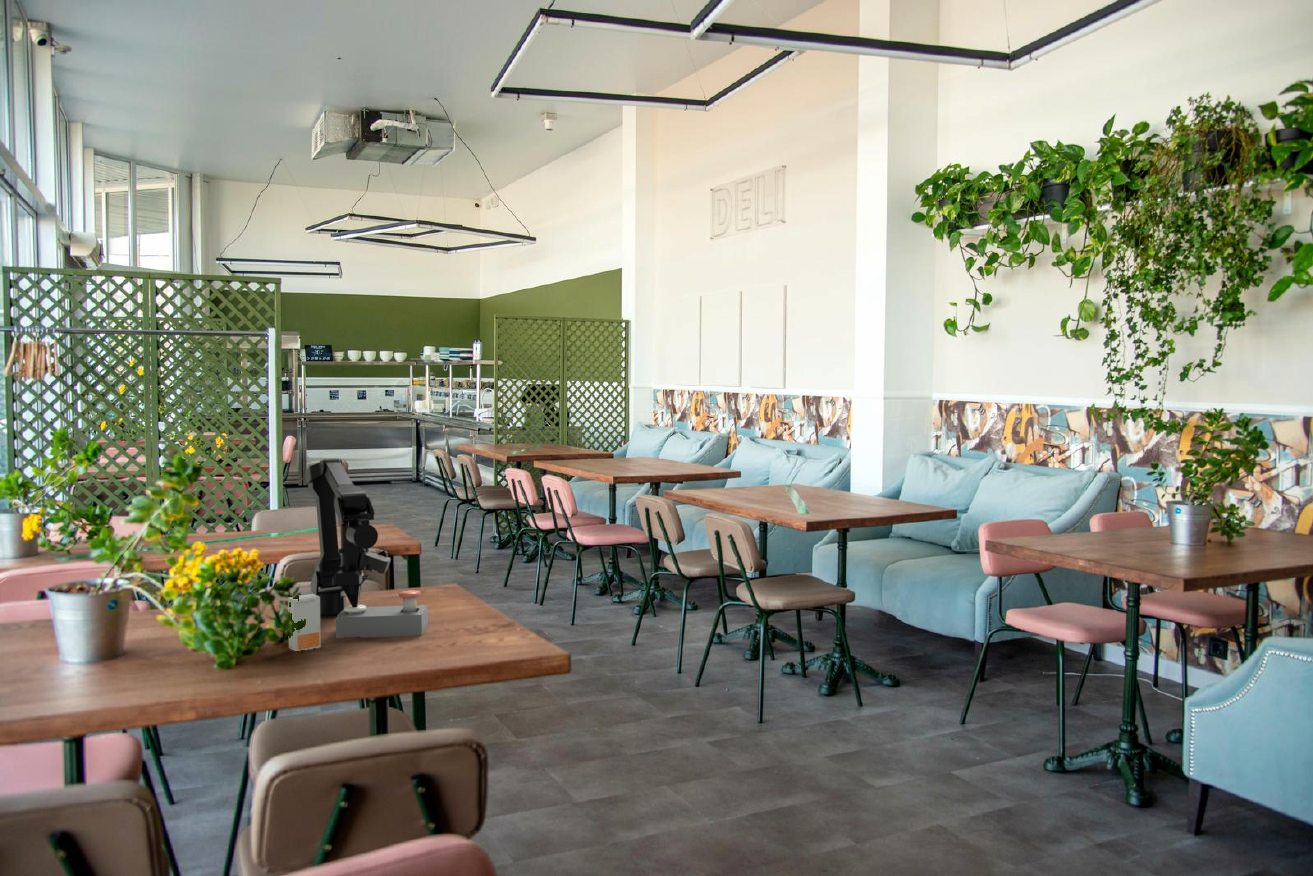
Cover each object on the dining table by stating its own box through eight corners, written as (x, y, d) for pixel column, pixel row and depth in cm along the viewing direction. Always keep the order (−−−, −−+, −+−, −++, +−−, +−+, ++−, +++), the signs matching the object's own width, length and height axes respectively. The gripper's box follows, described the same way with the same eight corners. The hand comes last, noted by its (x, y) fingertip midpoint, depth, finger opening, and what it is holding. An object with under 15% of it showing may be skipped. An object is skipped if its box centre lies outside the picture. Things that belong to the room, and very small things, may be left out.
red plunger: (397, 615, 230) (397, 595, 230) (401, 610, 235) (400, 590, 235) (418, 614, 230) (418, 594, 230) (421, 610, 235) (421, 589, 235)
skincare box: (295, 653, 214) (293, 600, 214) (288, 649, 218) (286, 597, 217) (322, 647, 218) (320, 596, 218) (314, 644, 222) (313, 593, 221)
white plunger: (342, 630, 229) (342, 609, 229) (347, 625, 234) (346, 605, 234) (364, 629, 229) (363, 609, 229) (368, 624, 234) (367, 604, 234)
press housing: (336, 638, 226) (335, 617, 226) (345, 627, 236) (345, 607, 236) (421, 635, 228) (421, 614, 228) (427, 624, 238) (427, 605, 238)
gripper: (379, 549, 222) (381, 615, 223) (394, 536, 241) (395, 597, 241) (330, 550, 221) (332, 616, 222) (348, 537, 239) (350, 599, 240)
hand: (355, 607), depth 231 cm, fingers closed, pressing on white plunger
